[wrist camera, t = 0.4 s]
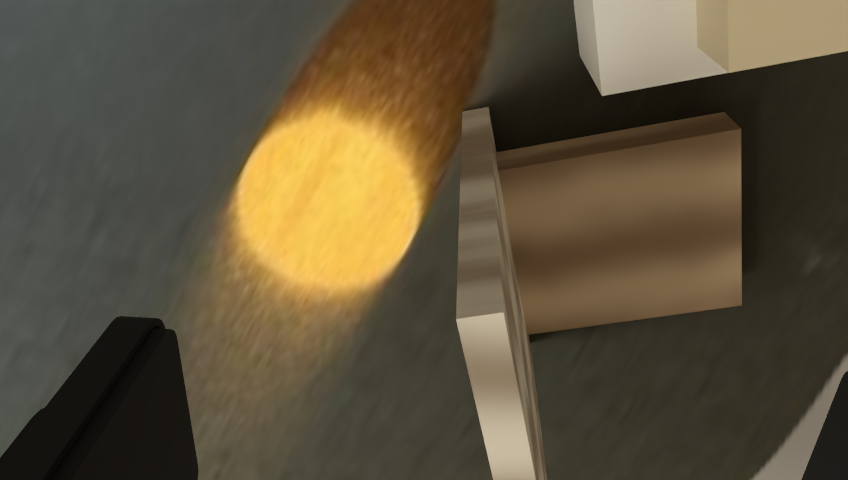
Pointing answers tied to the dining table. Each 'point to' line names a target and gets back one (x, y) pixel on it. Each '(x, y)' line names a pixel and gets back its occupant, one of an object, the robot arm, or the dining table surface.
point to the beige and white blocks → (701, 37)
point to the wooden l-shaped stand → (585, 251)
